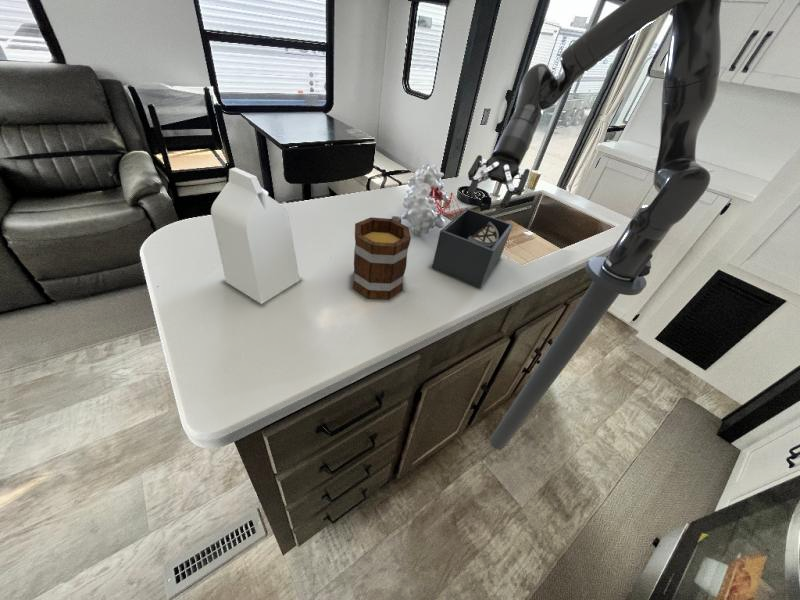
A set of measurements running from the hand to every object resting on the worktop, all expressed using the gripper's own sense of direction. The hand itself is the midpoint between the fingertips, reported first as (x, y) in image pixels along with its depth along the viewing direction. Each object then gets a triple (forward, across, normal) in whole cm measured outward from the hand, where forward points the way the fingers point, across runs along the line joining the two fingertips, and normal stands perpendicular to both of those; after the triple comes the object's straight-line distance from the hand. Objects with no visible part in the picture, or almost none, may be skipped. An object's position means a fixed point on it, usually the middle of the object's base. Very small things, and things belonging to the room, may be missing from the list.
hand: (485, 200), depth 81 cm
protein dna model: (+4, -22, +24) cm, 33 cm away
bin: (+13, 0, +15) cm, 20 cm away
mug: (+29, -16, -1) cm, 33 cm away
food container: (+12, +1, +14) cm, 19 cm away
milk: (+43, -37, -15) cm, 59 cm away
